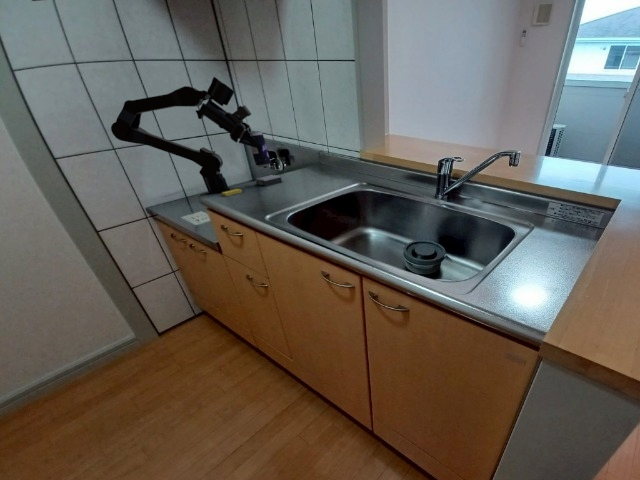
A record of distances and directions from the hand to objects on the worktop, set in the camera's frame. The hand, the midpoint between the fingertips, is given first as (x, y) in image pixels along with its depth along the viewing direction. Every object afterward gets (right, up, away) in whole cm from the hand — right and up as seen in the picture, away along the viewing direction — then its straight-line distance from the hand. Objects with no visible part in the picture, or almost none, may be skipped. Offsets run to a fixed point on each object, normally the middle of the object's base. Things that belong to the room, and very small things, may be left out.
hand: (262, 147), depth 123 cm
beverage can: (-1, -6, +3) cm, 7 cm away
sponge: (-9, -19, -4) cm, 22 cm away
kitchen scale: (0, -12, +7) cm, 13 cm away
